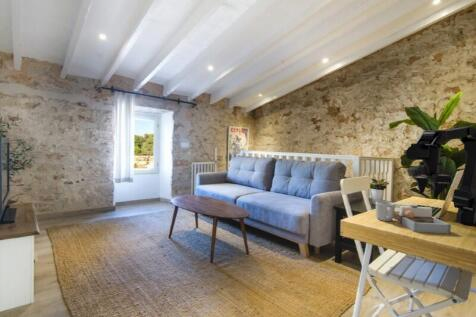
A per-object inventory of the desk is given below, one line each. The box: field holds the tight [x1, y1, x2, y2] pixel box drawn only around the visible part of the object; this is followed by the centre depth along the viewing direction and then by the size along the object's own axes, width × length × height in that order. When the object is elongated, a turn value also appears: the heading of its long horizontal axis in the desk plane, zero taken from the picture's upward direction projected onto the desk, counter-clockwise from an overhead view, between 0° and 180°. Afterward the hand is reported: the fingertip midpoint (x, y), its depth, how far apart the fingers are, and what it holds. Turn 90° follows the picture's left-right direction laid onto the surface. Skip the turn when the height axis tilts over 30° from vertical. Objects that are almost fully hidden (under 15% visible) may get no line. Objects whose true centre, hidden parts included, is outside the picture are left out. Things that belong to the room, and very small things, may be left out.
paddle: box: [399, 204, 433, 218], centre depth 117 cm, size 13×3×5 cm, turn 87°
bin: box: [401, 217, 452, 234], centre depth 108 cm, size 14×8×4 cm, turn 87°
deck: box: [393, 210, 433, 224], centre depth 118 cm, size 14×13×3 cm
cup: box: [375, 200, 396, 222], centre depth 117 cm, size 11×8×8 cm
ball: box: [405, 210, 414, 218], centre depth 114 cm, size 4×4×4 cm
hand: (428, 195), depth 111 cm, fingers open, 9 cm apart
